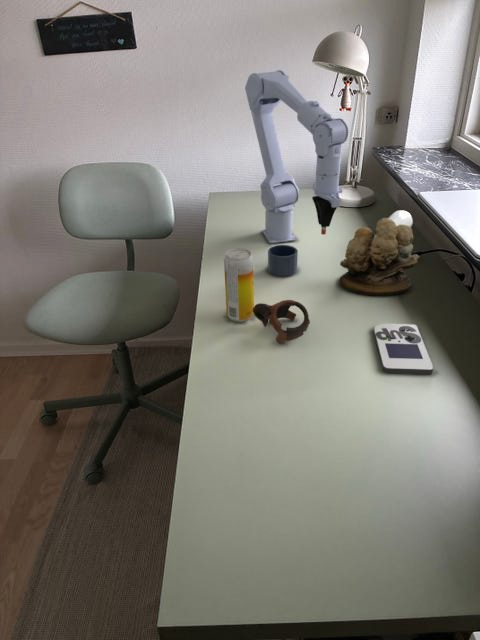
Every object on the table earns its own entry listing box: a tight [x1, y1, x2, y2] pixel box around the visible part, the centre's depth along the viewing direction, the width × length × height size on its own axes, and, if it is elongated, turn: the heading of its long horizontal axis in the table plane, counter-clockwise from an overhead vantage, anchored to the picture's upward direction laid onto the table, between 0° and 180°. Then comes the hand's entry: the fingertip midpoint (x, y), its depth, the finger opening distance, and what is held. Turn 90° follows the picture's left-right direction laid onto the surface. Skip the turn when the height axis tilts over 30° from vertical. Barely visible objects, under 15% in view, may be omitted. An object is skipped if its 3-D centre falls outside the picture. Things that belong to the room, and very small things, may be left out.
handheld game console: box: [373, 323, 434, 375], centre depth 95 cm, size 9×15×1 cm, turn 175°
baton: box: [320, 226, 327, 236], centre depth 126 cm, size 1×1×8 cm
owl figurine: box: [339, 217, 420, 297], centre depth 113 cm, size 18×12×17 cm, turn 87°
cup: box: [267, 244, 299, 278], centre depth 124 cm, size 7×7×6 cm
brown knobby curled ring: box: [253, 299, 311, 345], centre depth 100 cm, size 12×10×8 cm
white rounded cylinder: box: [374, 209, 414, 236], centre depth 137 cm, size 7×7×15 cm
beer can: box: [223, 248, 255, 323], centre depth 103 cm, size 6×6×15 cm
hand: (324, 225), depth 126 cm, fingers closed on baton, 1 cm apart
